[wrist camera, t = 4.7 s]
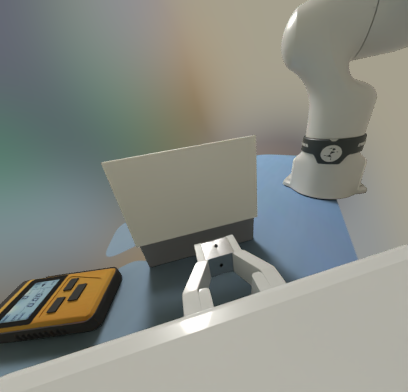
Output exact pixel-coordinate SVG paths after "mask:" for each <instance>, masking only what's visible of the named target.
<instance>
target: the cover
mask: <svg viewBox="0 0 408 392" xmlns="http://www.w3.org/2000/svg"><path fill="white" fill-rule="evenodd" d="M101 164H102V166H103V169H104V171H105V173H106V176H107V178H108V181H109V183H110V186H111V188H112V190H113V193H114V195H115V197H116V200H117V202H118V205H119V207H120V209H121V212H122V214H123V216H124V219H125V221H126V224H127V226H128V228H129V231H130V233H131V235H132V238H133V240H134V243H135V245H136V247H141V246H144V245H148V244H152V243H156V242H160V241H164V240H168V239H172V238H176V237H180V236H184V235H188V234H192V233H195V232H199V231H203V230H207V229H211V228H215V227H219V226H223V225H227V224H231V223H235V222H239V221H243V220H247V219H250V218H254V217H257V173H256V136H255V135H252V136H246V137H241V138H235V139H230V140H224V141H218V142H213V143H207V144H202V145H196V146H191V147H185V148H180V149H174V150H169V151H163V152H157V153H151V154H146V155H141V156H135V157H129V158H124V159H119V160H113V161H107V162H103V163H101Z"/></svg>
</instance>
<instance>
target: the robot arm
mask: <svg viewBox="0 0 408 392" xmlns="http://www.w3.org/2000/svg"><path fill="white" fill-rule="evenodd" d="M406 47H408V0H308V1H306V2H305V3H303V4H301V5H300V6H298V7H297V8H296V9H295V11H294V12H293V14H292V15H291V17H290V19H289V21H288V23H287V25H286V27H285V30H284V33H283V37H282V43H281V54H282V58H283V61H284V63H285V65H286V66H287V67H288V69H289V70H291V71H293V72H294V73H296V74H297V75H298V76H299V77H300V78H301V80H302V81H303V83H304V85H305V86H306V89H307V92H308V97H309V116H308V124H307V131H306V135H305V136H304V138H303V141H302V148H301V150H302V152H301V153H300V154H299V155H298V156H296V158H294V160H293V166H292V171H291V174H290V175H289V176H288V177H287V178H286V179H285V180H284V181H283V184H284V185H286V186H289V187H291V188H292V189H294V190H295V191H297V192H298V193H301V194H303V195H306V196H310V197H315V198H321V199H341V198H347V197H350V196H352V195H354V194H361V193H366V191H367V188H366V187H365V186H364V185H363V184H361V180H362V176H363V173H364V170H365V167H366V163H367V160H366V159H365V158H364V157H363V156H362V155H361V153H360V151H362V149H363V146H364V144H365V142H366V137H367V134H366V133H365V132H366V129H367V125H368V123H369V120H370V117H371V114H372V111H373V108H374V105H375V102H376V99H377V94H376V91H375V89H374V87H373V86H371V85H370V84H368V83H366V82H363V81H360V80H357V79H354V78H353V77H352V76H351V74H350V71H349V62H350V61H352V60H356V59H362V58H366V57H371V56H376V55H380V54H385V53H390V52H394V51H397V50H400V49H403V48H406ZM194 248H195V252H196V257H197V261H198V263H196V264H195V266H194V269H193V271H192V273H191V276H190V278H189V280H188V282H187V285H186V287H185V289H184V291H183V294H182V297H183V309H184V317H182V318H179V319H176V320H173V321H170V322H167V323H163V324H160V325H157V326H154V327H151V328H148V329H145V330H142V331H139V332H136V333H133V334H130V335H127V336H124V337H121V338H117V339H114V340H111V341H108V342H105V343H102V344H99V345H96V346H93V347H90V348H87V349H84V350H81V351H78V352H74V353H71V354H68V355H65V356H62V357H59V358H56V359H53V360H50V361H47V362H44V363H41V364H38V365H35V366H32V367H28V368H25V369H22V370H19V371H16V372H13V373H10V374H7V375H4V376H2V377H0V392H408V245H402V246H399V247H396V248H393V249H390V250H387V251H384V252H381V253H378V254H375V255H372V256H369V257H366V258H362V259H359V260H356V261H353V262H350V263H347V264H344V265H341V266H338V267H335V268H332V269H329V270H326V271H323V272H320V273H316V274H313V275H310V276H307V277H304V278H301V279H298V280H295V281H292V282H289V283H286V282H285V281H284V279H283V278H282V277H281V275H280V274H279V272H278V271H277V270H276V268H275V267H274V266H272V265H271V264H269V263H267V262H265V261H263V260H262V259H260V258H258V257H256V256H254V255H252V254H251V253H249V252H247V251H245V250H241V248H240V246H239V245H238V243H237V241H236V239H235V238H234V236H233V235H229V236H225V237H222V238H218V239H214V240H211V241H207V242H203V243H199V244H195V245H194ZM231 271H234V272H235V273H237V274H238V275H239V276H240V277H241V278H243V279H244V280H245V281H246V282H248V283H249V284H250V285H251V286H252V292H251V295H249V296H246V297H243V298H240V299H237V300H234V301H231V302H228V303H225V304H222V305H219V306H216V307H214V305H213V302H212V298H211V294H210V290H209V285H210V281H211V277H214V276H217V275H220V274H223V273H227V272H231Z"/></svg>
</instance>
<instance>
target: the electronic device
mask: <svg viewBox="0 0 408 392" xmlns="http://www.w3.org/2000/svg"><path fill="white" fill-rule="evenodd" d="M121 280H122V275H121V273H120V272H119V270H118V269H117V268H116V267H110V268H103V269H97V270H89V271H83V272H76V273H69V274H62V275H55V276H48V277H46V278H42V279H35V280H28V281H25V282H23V283H22V284H21V285H19V286H18V287H17V288H16V289H15V290H14V292H12V293H11V294H10V295H9V296H8V297H7V298H6V299H5V300H4V301H3V302H2V303H1V304H0V343H8V342H16V341H23V340H30V339H31V340H32V339H38V338H44V337H51V336H53V337H54V336H58V335H59V336H60V335H66V334H72V333H79V332H86V331H93V330H95V329H97V328H98V327H99V326H100V325H101V324H102V322H103V321H104V318H105V316H106V314H107V312H108V309H109V307H110V305H111V302H112V300H113V298H114V296H115V293H116V291H117V289H118V287H119V284H120V282H121Z"/></svg>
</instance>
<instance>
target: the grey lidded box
mask: <svg viewBox="0 0 408 392" xmlns="http://www.w3.org/2000/svg"><path fill="white" fill-rule="evenodd" d="M253 223H254V218H250V219H247V220H243V221H239V222H235V223H231V224H227V225H223V226H219V227H215V228H211V229H207V230H203V231H199V232H195V233H192V234H188V235H184V236H180V237H176V238H172V239H168V240H164V241H160V242H156V243H152V244H148V245H144V246H141V247H140V248H141V250H142V252H143V254H144V256H145V258H146V260H147V263H148V265H149V267H154V266H157V265H161V264H165V263H168V262H172V261H175V260H179V259H183V258H186V257H190V256H194V255H196V252H195V248H194V245H195V244H199V243H203V242H207V241H211V240H214V239H218V238H222V237H225V236H229V235H233V236H234V238H235V239H236V241H237V243H241V242H245V241H248V240H252V239H253Z"/></svg>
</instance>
